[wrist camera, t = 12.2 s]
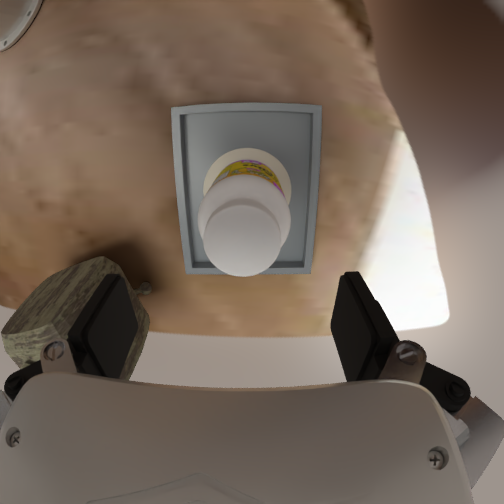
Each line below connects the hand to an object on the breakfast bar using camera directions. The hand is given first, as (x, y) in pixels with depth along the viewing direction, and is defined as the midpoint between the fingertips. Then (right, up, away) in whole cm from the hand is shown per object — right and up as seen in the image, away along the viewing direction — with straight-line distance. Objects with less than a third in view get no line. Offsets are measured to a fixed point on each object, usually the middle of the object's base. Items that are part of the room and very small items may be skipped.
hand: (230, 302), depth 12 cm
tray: (0, +9, +17) cm, 19 cm away
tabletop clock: (-19, -1, +23) cm, 29 cm away
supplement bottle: (0, +8, +17) cm, 19 cm away
